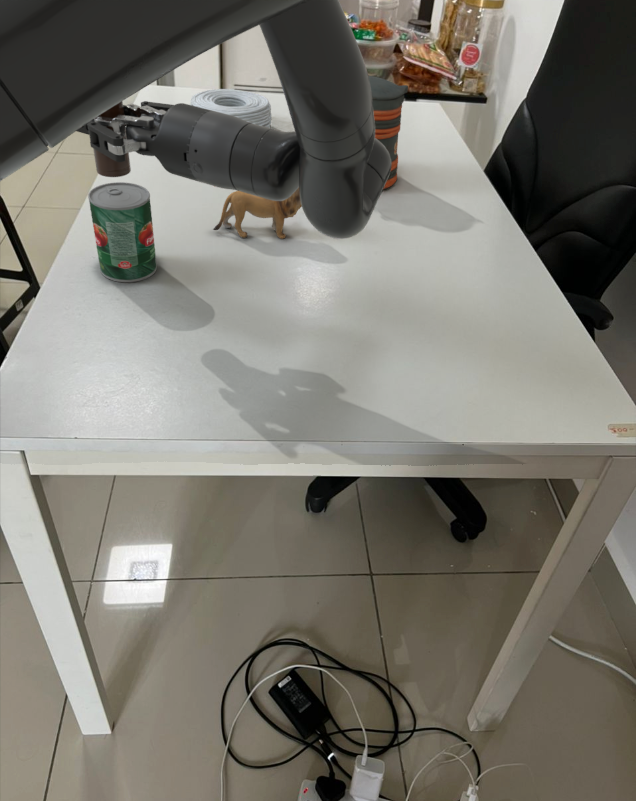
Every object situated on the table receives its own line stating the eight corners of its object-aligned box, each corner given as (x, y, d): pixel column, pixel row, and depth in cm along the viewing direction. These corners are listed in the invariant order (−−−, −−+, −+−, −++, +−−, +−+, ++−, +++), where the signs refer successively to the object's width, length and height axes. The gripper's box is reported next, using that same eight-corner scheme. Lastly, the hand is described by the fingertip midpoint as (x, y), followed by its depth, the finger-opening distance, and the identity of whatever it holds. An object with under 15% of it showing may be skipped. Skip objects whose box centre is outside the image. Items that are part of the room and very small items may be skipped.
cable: (277, 142, 133) (279, 112, 129) (192, 143, 129) (191, 111, 125) (263, 114, 146) (264, 85, 142) (185, 113, 142) (184, 84, 138)
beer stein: (299, 189, 117) (306, 70, 104) (296, 158, 128) (302, 47, 115) (401, 194, 119) (421, 78, 106) (390, 163, 130) (406, 54, 116)
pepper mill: (103, 179, 76) (89, 89, 70) (92, 167, 79) (78, 79, 72) (135, 174, 78) (125, 86, 71) (124, 162, 80) (113, 76, 74)
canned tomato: (166, 273, 92) (160, 200, 85) (114, 288, 88) (103, 212, 81) (141, 249, 96) (133, 178, 89) (90, 262, 92) (78, 188, 85)
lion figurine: (300, 223, 107) (304, 170, 101) (307, 238, 103) (311, 184, 97) (211, 225, 104) (209, 171, 98) (214, 241, 100) (213, 185, 94)
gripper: (244, 96, 73) (122, 66, 78) (169, 131, 63) (34, 94, 68) (244, 162, 78) (130, 130, 83) (174, 203, 68) (49, 165, 73)
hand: (87, 114), depth 75 cm, fingers closed on pepper mill, 4 cm apart
